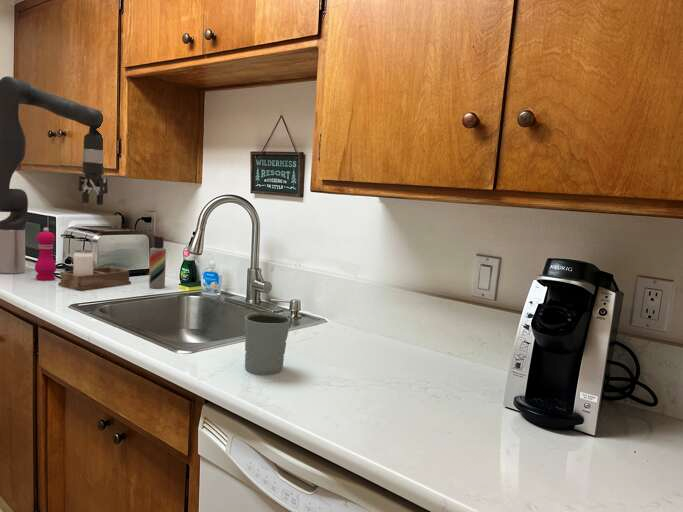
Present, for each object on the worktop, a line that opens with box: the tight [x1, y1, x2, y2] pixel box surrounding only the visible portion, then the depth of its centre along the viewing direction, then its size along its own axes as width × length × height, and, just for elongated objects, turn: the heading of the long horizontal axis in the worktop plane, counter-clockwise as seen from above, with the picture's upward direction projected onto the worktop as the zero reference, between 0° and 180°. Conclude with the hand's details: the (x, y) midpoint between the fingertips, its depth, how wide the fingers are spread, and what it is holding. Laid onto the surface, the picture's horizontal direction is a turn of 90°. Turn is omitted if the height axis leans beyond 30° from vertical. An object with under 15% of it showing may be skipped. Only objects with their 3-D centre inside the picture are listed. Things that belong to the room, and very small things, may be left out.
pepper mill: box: [34, 227, 57, 282], centre depth 195 cm, size 7×7×20 cm
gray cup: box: [244, 312, 291, 376], centre depth 117 cm, size 10×10×12 cm
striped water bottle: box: [148, 235, 167, 290], centre depth 196 cm, size 6×6×20 cm
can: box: [72, 249, 94, 276], centre depth 188 cm, size 6×6×12 cm
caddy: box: [57, 266, 132, 292], centre depth 193 cm, size 13×21×5 cm, turn 151°
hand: (92, 203), depth 200 cm, fingers open, 8 cm apart
